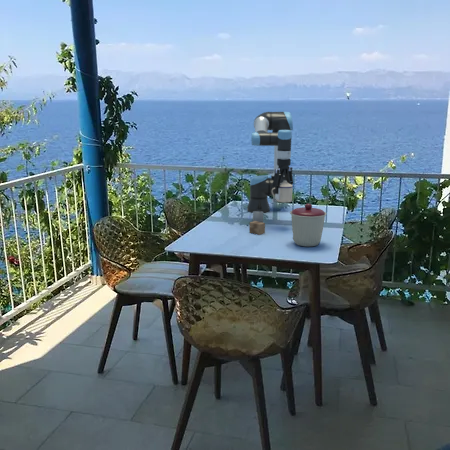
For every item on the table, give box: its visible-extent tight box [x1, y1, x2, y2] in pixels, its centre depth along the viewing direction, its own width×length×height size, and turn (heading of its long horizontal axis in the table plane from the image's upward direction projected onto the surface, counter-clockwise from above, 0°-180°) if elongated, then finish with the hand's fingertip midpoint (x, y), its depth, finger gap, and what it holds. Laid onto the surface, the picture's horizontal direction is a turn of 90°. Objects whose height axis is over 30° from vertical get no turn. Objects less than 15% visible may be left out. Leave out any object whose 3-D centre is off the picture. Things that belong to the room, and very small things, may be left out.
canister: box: [289, 203, 327, 247], centre depth 238 cm, size 18×18×21 cm
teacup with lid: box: [272, 180, 294, 203], centre depth 266 cm, size 12×9×12 cm
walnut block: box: [248, 220, 266, 236], centre depth 261 cm, size 7×5×6 cm
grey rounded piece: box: [252, 211, 264, 223], centre depth 278 cm, size 6×6×8 cm
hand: (282, 198), depth 267 cm, fingers closed on teacup with lid, 9 cm apart
